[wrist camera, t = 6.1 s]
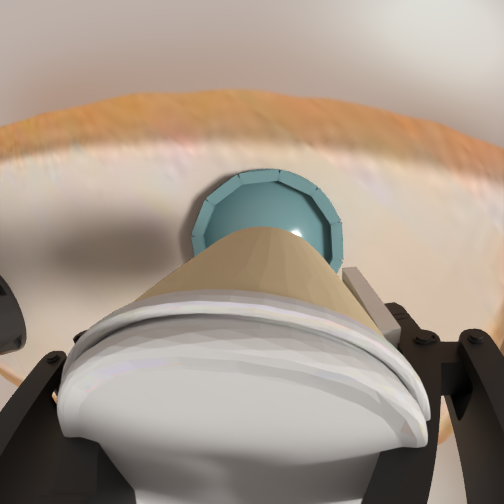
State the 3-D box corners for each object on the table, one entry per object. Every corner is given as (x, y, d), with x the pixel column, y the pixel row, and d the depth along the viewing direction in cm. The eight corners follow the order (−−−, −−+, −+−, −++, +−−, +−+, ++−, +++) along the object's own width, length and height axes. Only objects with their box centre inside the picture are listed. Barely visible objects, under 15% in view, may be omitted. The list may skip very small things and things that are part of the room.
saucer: (207, 314, 30) (204, 321, 29) (185, 179, 27) (180, 179, 25) (342, 304, 29) (345, 311, 27) (335, 162, 25) (339, 162, 24)
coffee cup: (154, 299, 17) (31, 441, 6) (249, 173, 15) (145, 170, 3) (272, 383, 18) (259, 553, 6) (377, 282, 16) (492, 442, 4)
